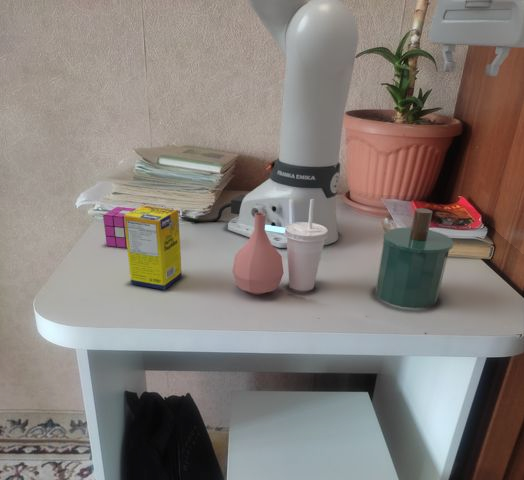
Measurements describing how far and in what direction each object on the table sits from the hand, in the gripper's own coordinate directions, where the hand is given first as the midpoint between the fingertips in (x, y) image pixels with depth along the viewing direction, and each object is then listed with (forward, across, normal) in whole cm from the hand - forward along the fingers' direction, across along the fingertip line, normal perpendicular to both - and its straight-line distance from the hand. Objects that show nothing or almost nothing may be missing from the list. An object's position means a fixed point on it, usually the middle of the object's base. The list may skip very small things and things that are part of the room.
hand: (469, 74), depth 98 cm
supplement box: (+29, -2, -65) cm, 72 cm away
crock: (+29, +23, -35) cm, 51 cm away
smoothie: (+29, +12, -47) cm, 57 cm away
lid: (+20, +23, -35) cm, 46 cm away
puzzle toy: (+29, -20, -63) cm, 72 cm away
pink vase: (+29, +10, -54) cm, 62 cm away
